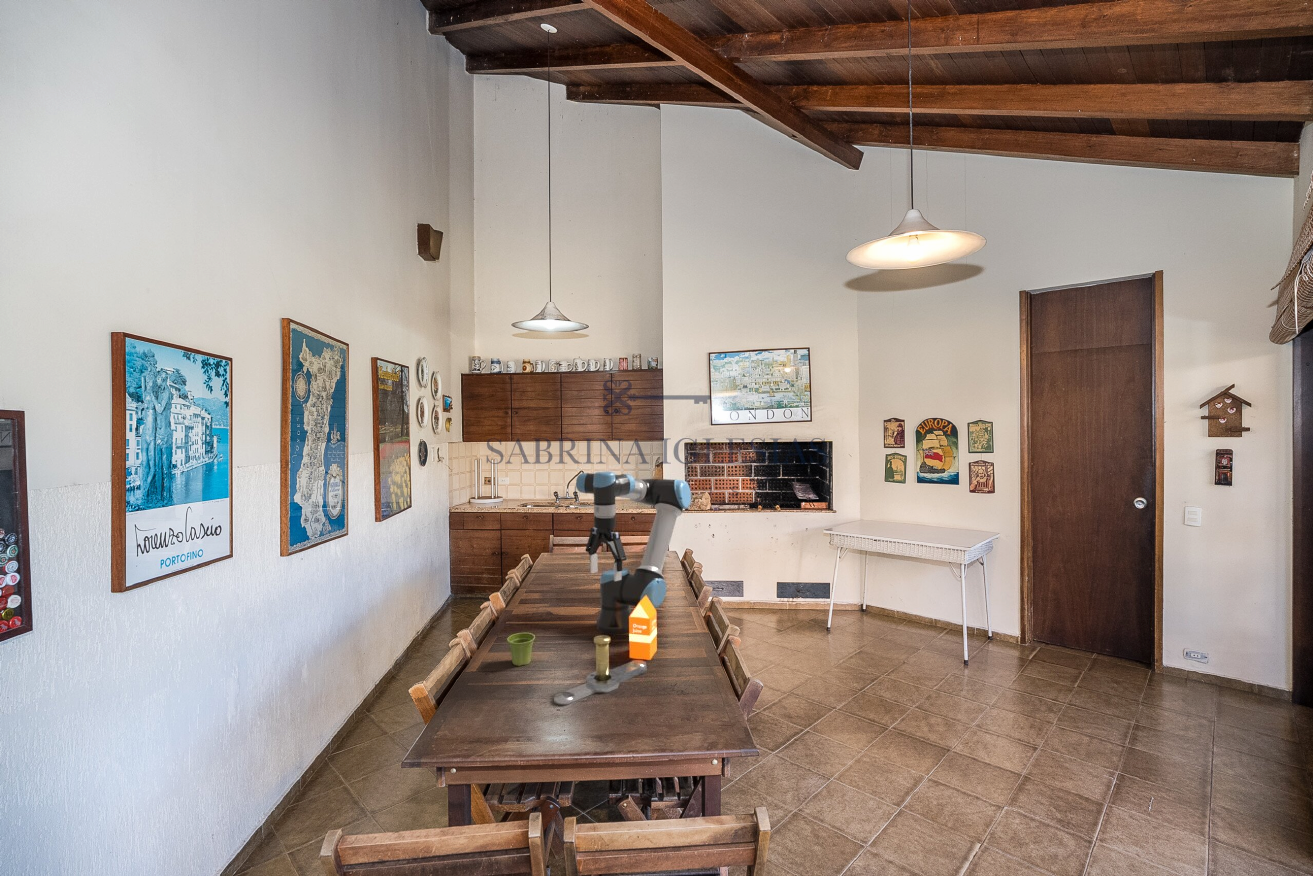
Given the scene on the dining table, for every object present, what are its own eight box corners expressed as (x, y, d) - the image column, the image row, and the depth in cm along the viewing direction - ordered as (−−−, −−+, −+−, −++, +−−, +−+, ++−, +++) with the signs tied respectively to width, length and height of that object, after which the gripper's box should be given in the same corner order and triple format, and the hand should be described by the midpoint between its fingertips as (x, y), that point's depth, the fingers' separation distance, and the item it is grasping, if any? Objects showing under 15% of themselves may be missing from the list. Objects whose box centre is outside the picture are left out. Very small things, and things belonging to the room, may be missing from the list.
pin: (591, 684, 186) (590, 638, 186) (604, 679, 190) (603, 634, 189) (601, 690, 183) (600, 643, 182) (614, 685, 186) (613, 638, 185)
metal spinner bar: (565, 710, 171) (565, 702, 171) (546, 698, 178) (546, 690, 178) (654, 672, 194) (654, 665, 194) (634, 663, 202) (634, 656, 202)
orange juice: (657, 650, 213) (656, 595, 212) (650, 660, 205) (649, 603, 204) (636, 648, 215) (635, 594, 214) (629, 657, 207) (628, 601, 206)
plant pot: (540, 658, 207) (540, 634, 206) (526, 669, 198) (525, 644, 197) (517, 655, 210) (517, 631, 209) (502, 666, 201) (501, 641, 201)
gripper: (575, 513, 212) (576, 571, 213) (618, 522, 194) (619, 586, 195) (592, 510, 217) (593, 567, 218) (636, 519, 199) (636, 581, 200)
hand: (605, 576), depth 206 cm, fingers open, 13 cm apart
